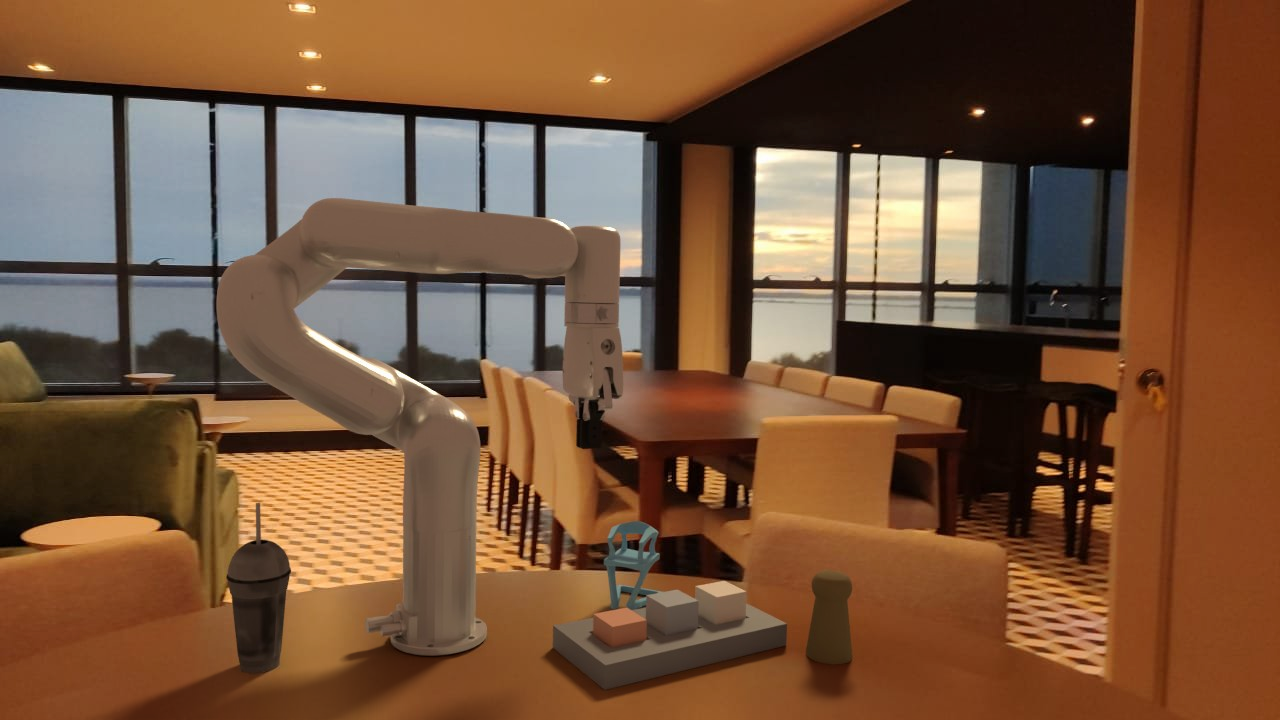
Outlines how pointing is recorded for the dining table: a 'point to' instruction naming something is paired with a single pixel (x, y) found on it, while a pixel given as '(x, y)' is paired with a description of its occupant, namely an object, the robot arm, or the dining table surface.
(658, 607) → the slate button
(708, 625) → the button panel
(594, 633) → the terracotta button
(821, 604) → the cork
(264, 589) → the beverage cup
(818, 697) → the dining table surface
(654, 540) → the chair
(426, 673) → the dining table surface
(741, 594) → the cream button
